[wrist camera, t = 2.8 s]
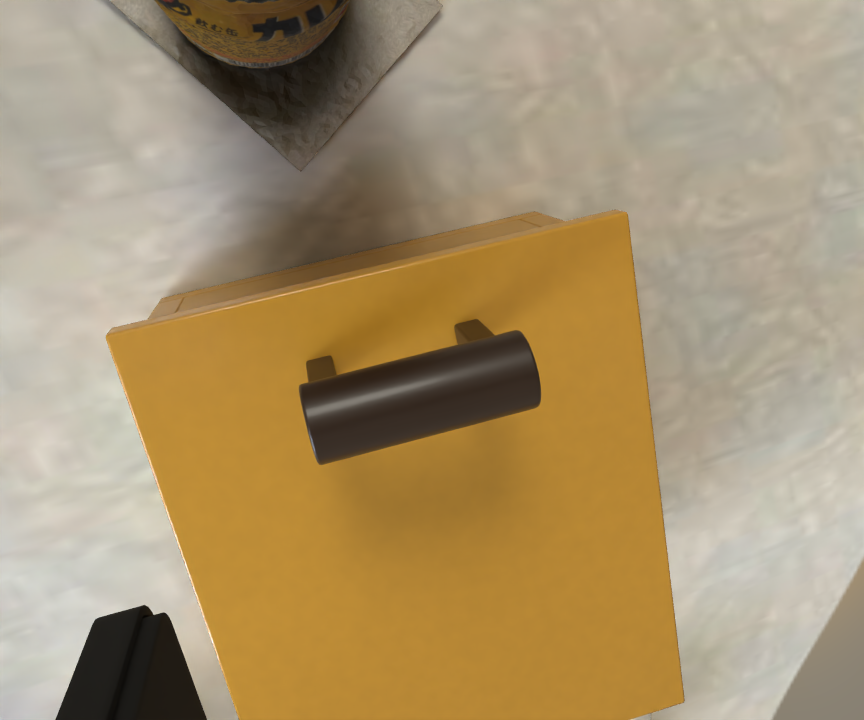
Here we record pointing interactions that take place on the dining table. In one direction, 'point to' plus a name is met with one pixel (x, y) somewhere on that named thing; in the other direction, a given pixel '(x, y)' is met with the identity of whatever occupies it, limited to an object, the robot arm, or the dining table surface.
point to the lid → (421, 484)
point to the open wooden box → (350, 263)
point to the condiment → (285, 57)
